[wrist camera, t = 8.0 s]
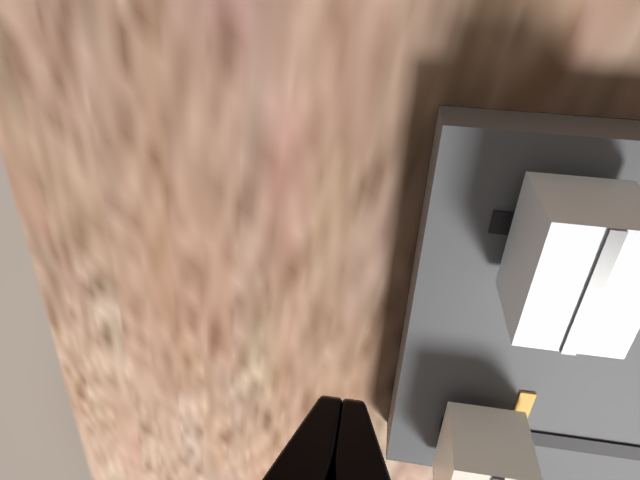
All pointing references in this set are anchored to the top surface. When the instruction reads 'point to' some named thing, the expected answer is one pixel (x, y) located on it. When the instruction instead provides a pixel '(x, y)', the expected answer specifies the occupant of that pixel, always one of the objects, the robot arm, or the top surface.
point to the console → (485, 307)
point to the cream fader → (485, 445)
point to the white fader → (573, 265)
